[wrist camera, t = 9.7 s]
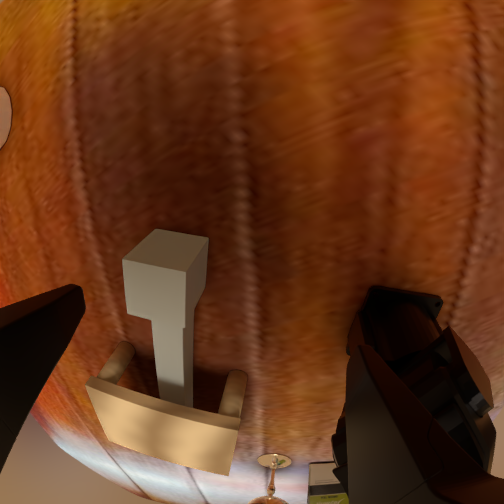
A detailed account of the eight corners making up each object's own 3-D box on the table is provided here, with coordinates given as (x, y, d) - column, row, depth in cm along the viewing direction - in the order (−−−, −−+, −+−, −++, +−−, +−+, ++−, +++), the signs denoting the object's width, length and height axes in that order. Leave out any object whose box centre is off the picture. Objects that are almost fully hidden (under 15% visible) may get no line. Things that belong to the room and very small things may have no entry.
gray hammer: (208, 237, 21) (186, 272, 17) (200, 409, 30) (188, 446, 25) (155, 228, 21) (122, 258, 17) (165, 400, 30) (150, 435, 25)
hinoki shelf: (250, 371, 26) (238, 430, 20) (238, 427, 30) (228, 475, 24) (117, 338, 27) (84, 384, 21) (130, 398, 31) (108, 440, 25)
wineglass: (247, 452, 33) (231, 533, 22) (292, 450, 31) (284, 536, 21) (259, 469, 35) (247, 542, 24) (300, 467, 33) (293, 543, 23)
